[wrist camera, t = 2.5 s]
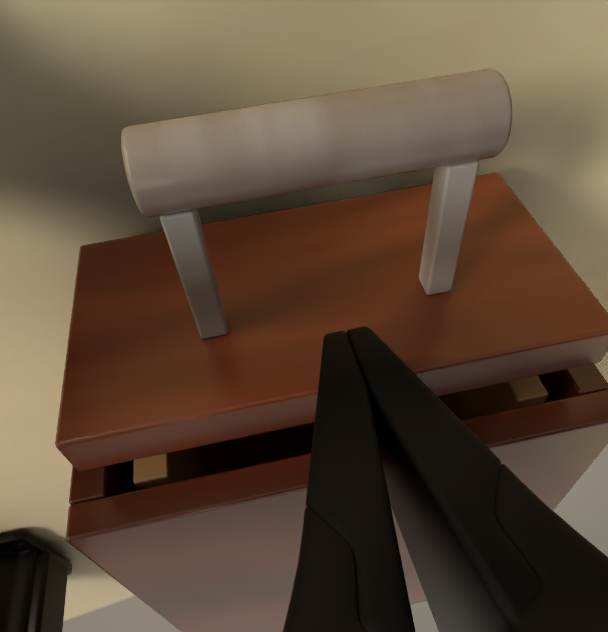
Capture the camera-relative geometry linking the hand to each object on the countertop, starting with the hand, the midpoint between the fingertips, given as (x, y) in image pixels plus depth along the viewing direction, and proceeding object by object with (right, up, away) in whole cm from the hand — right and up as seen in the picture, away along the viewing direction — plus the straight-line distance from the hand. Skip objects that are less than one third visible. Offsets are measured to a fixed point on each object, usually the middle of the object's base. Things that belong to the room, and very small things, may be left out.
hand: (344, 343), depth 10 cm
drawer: (-1, +1, +8) cm, 8 cm away
